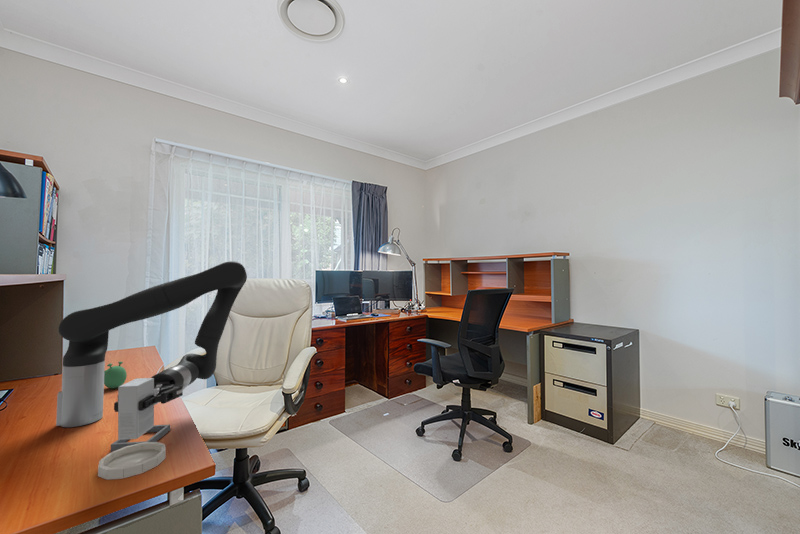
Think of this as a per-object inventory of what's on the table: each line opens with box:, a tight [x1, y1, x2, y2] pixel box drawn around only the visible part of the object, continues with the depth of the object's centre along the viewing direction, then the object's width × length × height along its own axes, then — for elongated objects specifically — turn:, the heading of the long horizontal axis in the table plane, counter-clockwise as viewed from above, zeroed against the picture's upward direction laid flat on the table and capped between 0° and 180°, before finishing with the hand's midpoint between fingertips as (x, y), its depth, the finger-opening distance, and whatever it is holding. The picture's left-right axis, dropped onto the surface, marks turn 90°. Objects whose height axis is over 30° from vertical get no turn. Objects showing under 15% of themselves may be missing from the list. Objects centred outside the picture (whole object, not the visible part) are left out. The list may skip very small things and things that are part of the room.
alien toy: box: [104, 360, 127, 390], centre depth 130 cm, size 7×8×10 cm
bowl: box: [97, 441, 167, 480], centre depth 77 cm, size 12×12×2 cm
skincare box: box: [117, 377, 155, 440], centre depth 77 cm, size 6×4×12 cm
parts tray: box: [110, 424, 171, 452], centre depth 88 cm, size 8×10×2 cm
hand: (128, 406), depth 75 cm, fingers closed on skincare box, 4 cm apart
